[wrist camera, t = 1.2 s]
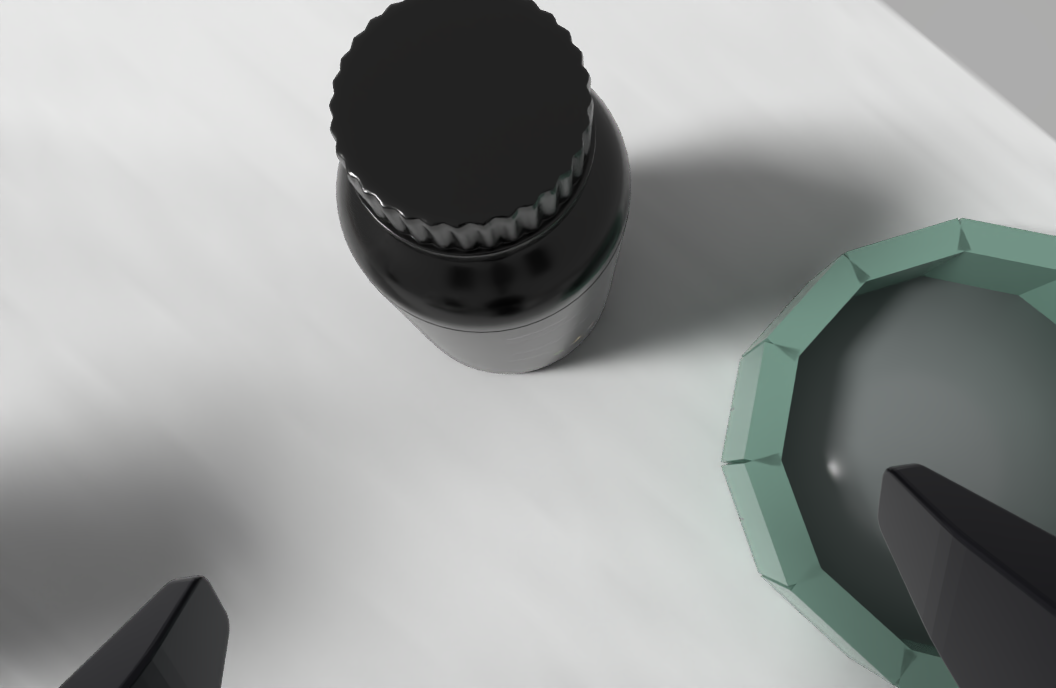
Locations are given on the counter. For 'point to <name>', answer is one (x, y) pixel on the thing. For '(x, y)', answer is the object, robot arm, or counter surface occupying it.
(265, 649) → the counter surface
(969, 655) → the robot arm
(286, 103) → the counter surface
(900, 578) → the cup
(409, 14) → the supplement bottle
